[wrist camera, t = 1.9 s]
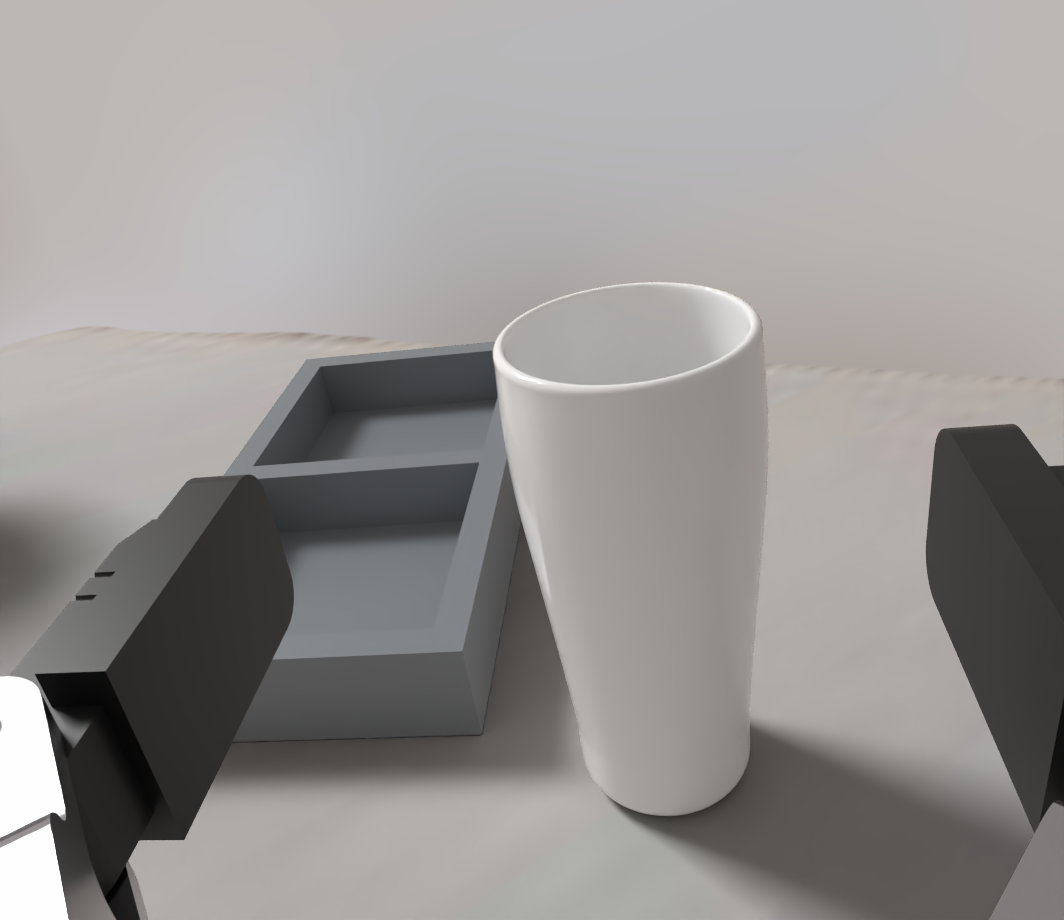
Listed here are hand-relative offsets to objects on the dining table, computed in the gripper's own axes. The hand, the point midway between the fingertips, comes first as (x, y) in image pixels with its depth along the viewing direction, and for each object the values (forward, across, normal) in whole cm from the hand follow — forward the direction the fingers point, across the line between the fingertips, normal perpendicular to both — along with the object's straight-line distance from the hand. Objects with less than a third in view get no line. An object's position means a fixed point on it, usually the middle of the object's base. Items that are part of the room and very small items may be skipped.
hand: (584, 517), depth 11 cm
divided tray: (+26, +13, +18) cm, 34 cm away
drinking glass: (+12, 0, +18) cm, 22 cm away
